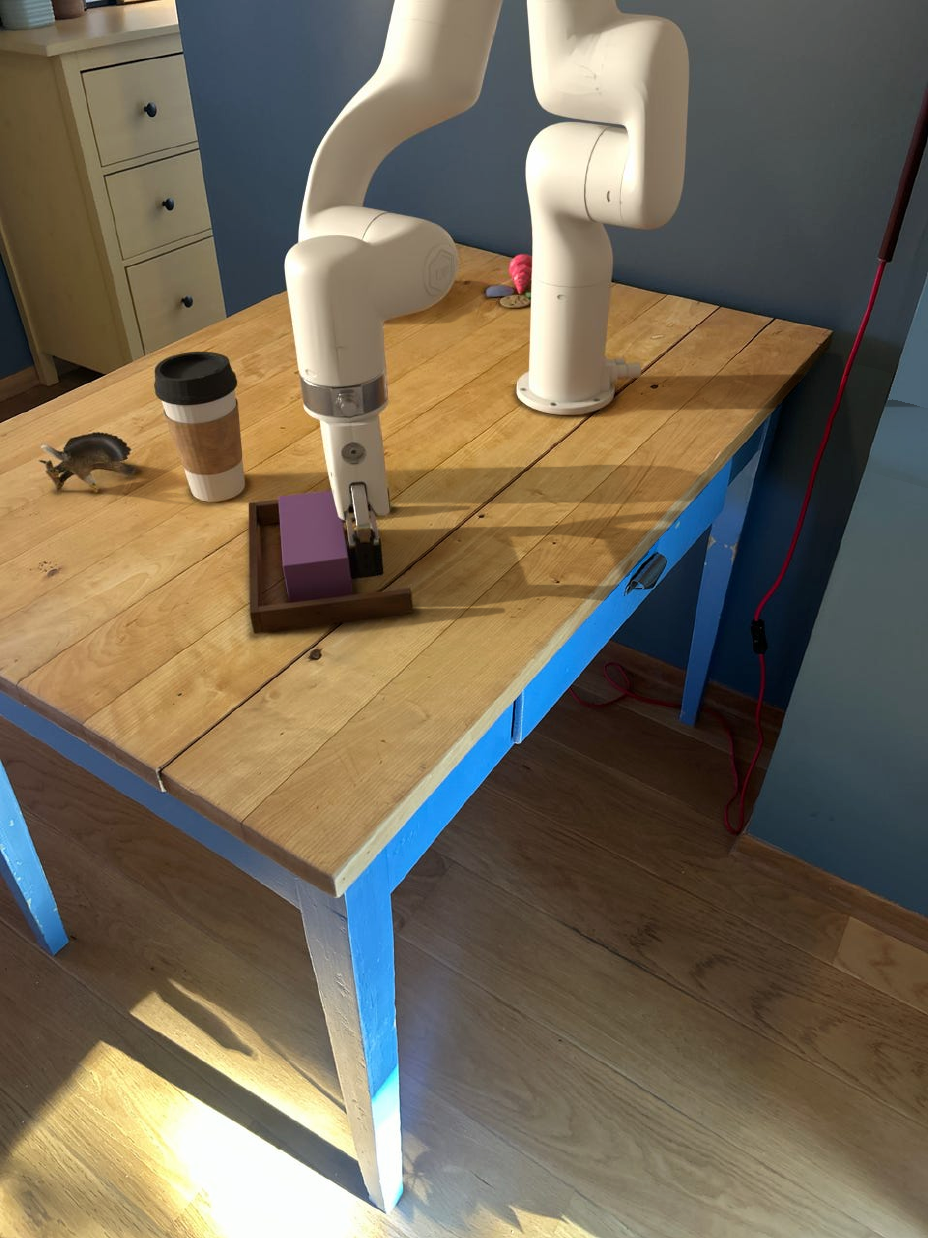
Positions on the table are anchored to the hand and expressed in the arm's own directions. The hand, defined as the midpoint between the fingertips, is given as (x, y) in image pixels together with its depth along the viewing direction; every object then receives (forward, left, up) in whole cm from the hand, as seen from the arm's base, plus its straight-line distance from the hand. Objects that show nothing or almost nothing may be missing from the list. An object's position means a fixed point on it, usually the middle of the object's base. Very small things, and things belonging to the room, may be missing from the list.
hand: (361, 546), depth 93 cm
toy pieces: (-31, -66, -2) cm, 73 cm away
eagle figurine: (+29, -21, -2) cm, 36 cm away
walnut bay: (+3, 0, -2) cm, 4 cm away
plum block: (+5, 0, -2) cm, 5 cm away
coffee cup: (+15, -17, -2) cm, 23 cm away
